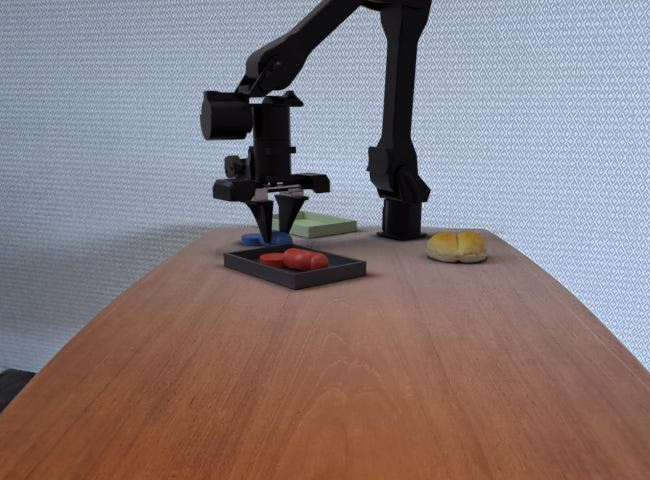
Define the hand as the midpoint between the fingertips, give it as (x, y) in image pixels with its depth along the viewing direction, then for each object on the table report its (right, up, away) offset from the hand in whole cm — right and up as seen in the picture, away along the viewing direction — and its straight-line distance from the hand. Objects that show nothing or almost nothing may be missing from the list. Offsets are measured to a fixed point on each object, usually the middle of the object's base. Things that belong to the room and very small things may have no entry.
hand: (275, 241), depth 108 cm
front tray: (+4, -6, -14) cm, 16 cm away
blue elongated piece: (-2, 0, +2) cm, 3 cm away
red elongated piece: (+4, -6, -15) cm, 16 cm away
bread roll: (+28, -4, -6) cm, 29 cm away
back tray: (+4, +6, +18) cm, 19 cm away
